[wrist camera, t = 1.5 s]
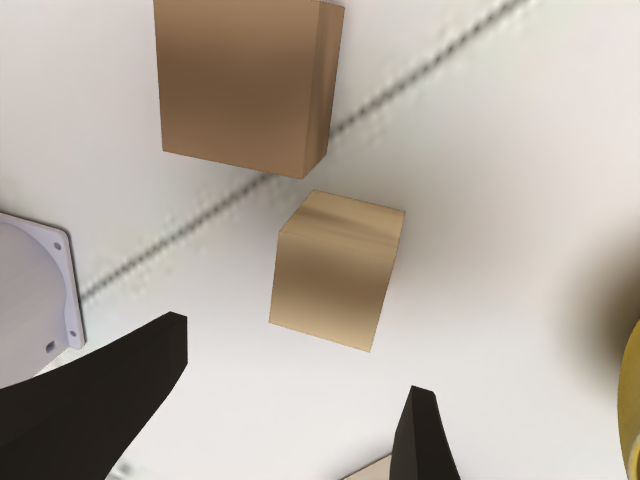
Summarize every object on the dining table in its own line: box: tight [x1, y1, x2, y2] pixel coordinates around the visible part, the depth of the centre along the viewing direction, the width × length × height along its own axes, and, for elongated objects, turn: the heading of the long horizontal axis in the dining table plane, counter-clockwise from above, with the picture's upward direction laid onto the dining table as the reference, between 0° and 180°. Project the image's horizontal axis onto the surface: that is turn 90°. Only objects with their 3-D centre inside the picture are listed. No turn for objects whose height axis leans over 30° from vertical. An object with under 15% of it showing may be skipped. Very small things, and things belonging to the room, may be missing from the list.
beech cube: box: [269, 190, 405, 353], centre depth 19 cm, size 4×4×5 cm
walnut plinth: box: [153, 0, 345, 180], centre depth 17 cm, size 6×6×4 cm
